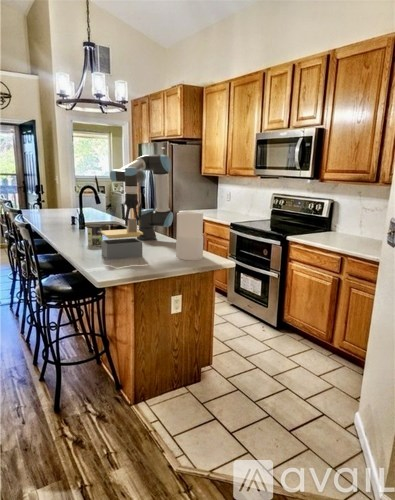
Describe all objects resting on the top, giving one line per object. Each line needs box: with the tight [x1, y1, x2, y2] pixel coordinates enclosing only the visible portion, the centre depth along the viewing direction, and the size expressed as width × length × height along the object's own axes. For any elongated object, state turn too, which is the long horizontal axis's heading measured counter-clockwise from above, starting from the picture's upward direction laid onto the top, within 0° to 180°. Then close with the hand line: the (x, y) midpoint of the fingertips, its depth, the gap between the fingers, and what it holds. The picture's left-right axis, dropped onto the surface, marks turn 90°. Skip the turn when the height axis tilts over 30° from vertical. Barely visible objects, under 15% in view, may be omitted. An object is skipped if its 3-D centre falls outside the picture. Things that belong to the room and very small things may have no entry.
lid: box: [101, 217, 143, 240], centre depth 219 cm, size 23×15×11 cm, turn 118°
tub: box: [100, 237, 143, 261], centre depth 221 cm, size 22×14×10 cm, turn 118°
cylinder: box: [175, 211, 205, 261], centre depth 225 cm, size 17×17×28 cm
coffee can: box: [86, 224, 104, 247], centre depth 251 cm, size 10×10×14 cm
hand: (131, 230), depth 222 cm, fingers closed on lid, 4 cm apart
